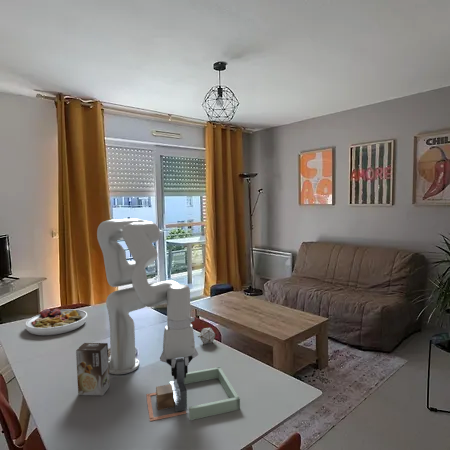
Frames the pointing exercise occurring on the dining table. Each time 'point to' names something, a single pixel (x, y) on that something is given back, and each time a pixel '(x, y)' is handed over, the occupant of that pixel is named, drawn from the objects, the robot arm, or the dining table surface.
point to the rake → (179, 386)
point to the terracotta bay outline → (159, 416)
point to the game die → (207, 335)
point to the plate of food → (56, 321)
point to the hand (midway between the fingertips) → (179, 376)
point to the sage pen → (216, 406)
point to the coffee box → (92, 368)
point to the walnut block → (164, 397)
